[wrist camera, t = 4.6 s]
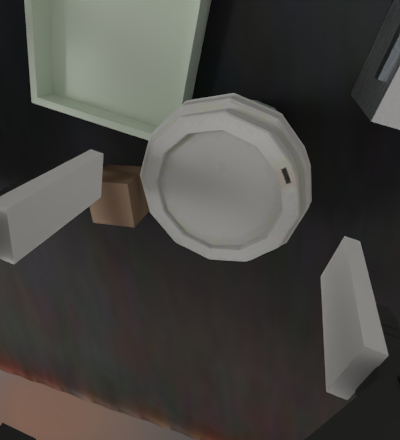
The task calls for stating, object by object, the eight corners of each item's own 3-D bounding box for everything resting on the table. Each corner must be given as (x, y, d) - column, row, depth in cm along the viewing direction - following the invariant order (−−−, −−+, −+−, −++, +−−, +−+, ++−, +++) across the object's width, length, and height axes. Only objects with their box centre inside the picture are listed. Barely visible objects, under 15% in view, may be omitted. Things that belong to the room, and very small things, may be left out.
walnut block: (115, 202, 39) (93, 222, 35) (108, 163, 37) (83, 180, 33) (153, 206, 38) (134, 227, 34) (148, 166, 35) (127, 183, 31)
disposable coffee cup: (222, 197, 35) (176, 288, 22) (179, 101, 31) (94, 146, 18) (323, 165, 30) (337, 257, 18) (286, 48, 26) (271, 60, 14)
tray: (51, 97, 34) (31, 102, 32) (43, -94, 26) (16, -108, 24) (183, 139, 33) (173, 148, 30) (221, -52, 24) (211, -62, 22)
